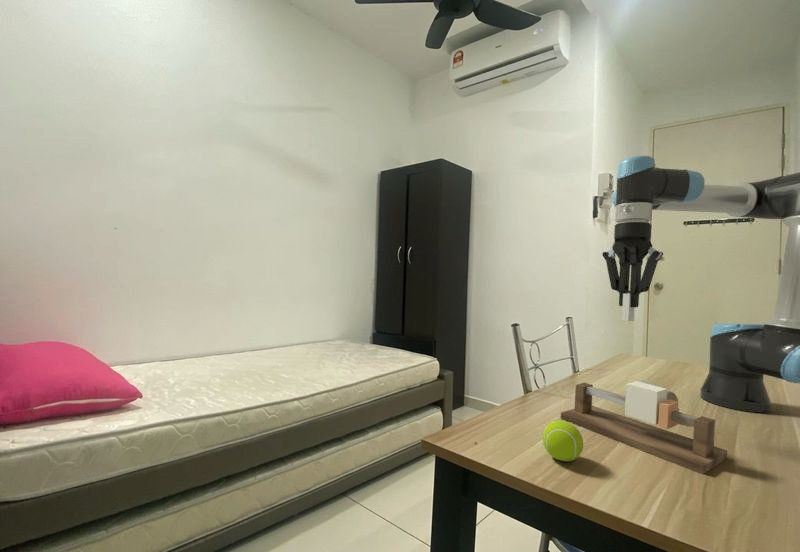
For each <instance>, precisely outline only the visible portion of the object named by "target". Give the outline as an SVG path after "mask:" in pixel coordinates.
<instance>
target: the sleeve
mask: <svg viewBox="0 0 800 552" xmlns="http://www.w3.org/2000/svg"><path fill="white" fill-rule="evenodd" d="M658 386H659V385H657V386H654V385H650V384H646V383H642V382H639V381H637V380H636V381H632V382H628V383H626V384H625V397H626V399H625V406H624V416H626V417H629V418H632V419H635V420H638V421H641V422H644V423H645V422H646V423H647V424H650V425H651V424H652V425H653V426H655V425H657V426H658V420H659V403H661V402H664V401H667V390H668V388H664V387H662V386H659V387H658Z"/></svg>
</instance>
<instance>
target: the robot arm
mask: <svg viewBox="0 0 800 552" xmlns="http://www.w3.org/2000/svg"><path fill="white" fill-rule="evenodd" d="M655 162H656V161H655V158H654V157H652V156H650V155H635V156H630V157H627V158H624V159H623V160H621V161H620V162H619V164H618V167H617V173H616V174H617V175H616V190H615V191H614V192H613V195H612V203H613V206H614V207H615V216H614V217H615V220H614V221H615V225H614V233H613V234H614V235H613V238H614V242H613V243H612V247H611V249H609V250H607V251H603V252H602V253H601V254H602V257H603V258H604V260H605V262H606V267H607V272H608V279H609V283H610V287H611V290H613V291H616V292H618V295H619V297H618V301H619V302H618V306H619V307H622V308H621V310H622V312H621V321H624V322H633V321H635V308H639V306H640V305H639V304H640V294H641V293H647V292H648V291H649V290H650V287H651V284H652V281H653V278H654V275H655V271H656V268H657V265H658V263H659V261H660V260H661V258H662V257H663V255H664V252H662V251H660V250H657V249H656V248H654V247H653V244H652V242H651V237H652V224H651V223H650V222H651V221H653V211H670V212H672V211H673V212H695V213H696V212H698V213H719V214H720V213H721V214H723V213H724V214H727V215H728V216H729V217H734V218H749V219H762V220H781V222H782V223H783V224H784V225H785V226H787V228H788V230H787V231H788V232H787V237H786V244H785V248H784V249H785V250H784V255H783V260H782V267H781V272H780V278H779V284H778V290H777V296H776V300H775V301H776V302H775V307H774V313H773V317H772V318H771V319H770V320H767V321H766V322H764V324H756V323H755V324H754V323H751V324H750V323H748V324H747V323H716V324H714V325H713V326H712V327H711V333H710V340H709V341H710V343H709V347H710V348H709V368H708V369H709V370H708V371H709V372H708V374H707V375H706V378H705V379H704V382H703V383H702V386H701V387H700V395H699V396H700V398H701V399H702V400H704V401H706V402H708V403H711V404H713V405H717V406H721V407H723V408H724V407H725V408H728V409H732V410H733V409H734V410H738V411H742V412H743V411H744V412H751V413H769V412H771V411H772V410H771V409H772V402H771V400H770V397H769V393H768V391H767V387H766V385H765V382H764V375H765V376H769V377H771V378H776V379H779V380H783V381H787V382H788V383H792V384H799V385H800V171H799V172H794V173H791V174H786V175H781V176H777V177H774V178H769V179H765V180H760V181H754V182H738V183H735V184H733V185H724V184H721V185H720V184H706V183H705V177H704V175H702V173H701V172H698V171H694V170H689V169H687V168H685V169H678V168H677V169H674V168H660V167H656V163H655ZM616 257H617V258H618V260H619V261H618V264H619V268H618V265H617V260H616ZM646 257H648V258H647V261H646V264H645V266H644V270H643V273H642V266H643V263H644V259H645V258H646Z"/></svg>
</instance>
